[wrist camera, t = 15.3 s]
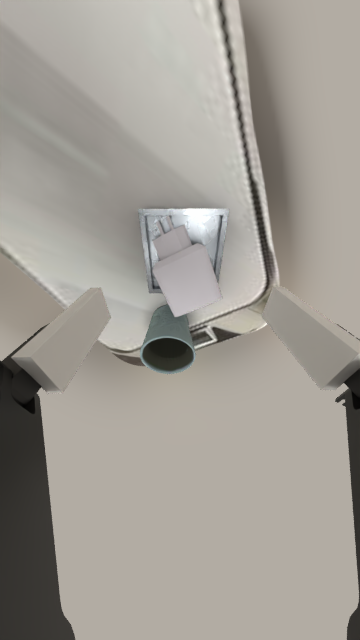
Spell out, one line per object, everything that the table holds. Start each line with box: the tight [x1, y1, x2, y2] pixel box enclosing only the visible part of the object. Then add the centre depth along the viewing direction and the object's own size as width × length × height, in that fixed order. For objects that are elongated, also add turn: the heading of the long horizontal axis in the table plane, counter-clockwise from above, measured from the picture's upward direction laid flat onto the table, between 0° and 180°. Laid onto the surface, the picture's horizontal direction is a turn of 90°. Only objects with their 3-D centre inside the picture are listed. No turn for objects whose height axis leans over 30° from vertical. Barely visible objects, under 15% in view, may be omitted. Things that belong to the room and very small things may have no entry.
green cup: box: [140, 305, 195, 374], centre depth 32 cm, size 10×10×12 cm
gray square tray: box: [138, 209, 229, 293], centre depth 27 cm, size 14×14×2 cm
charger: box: [152, 216, 222, 317], centre depth 25 cm, size 5×9×15 cm
